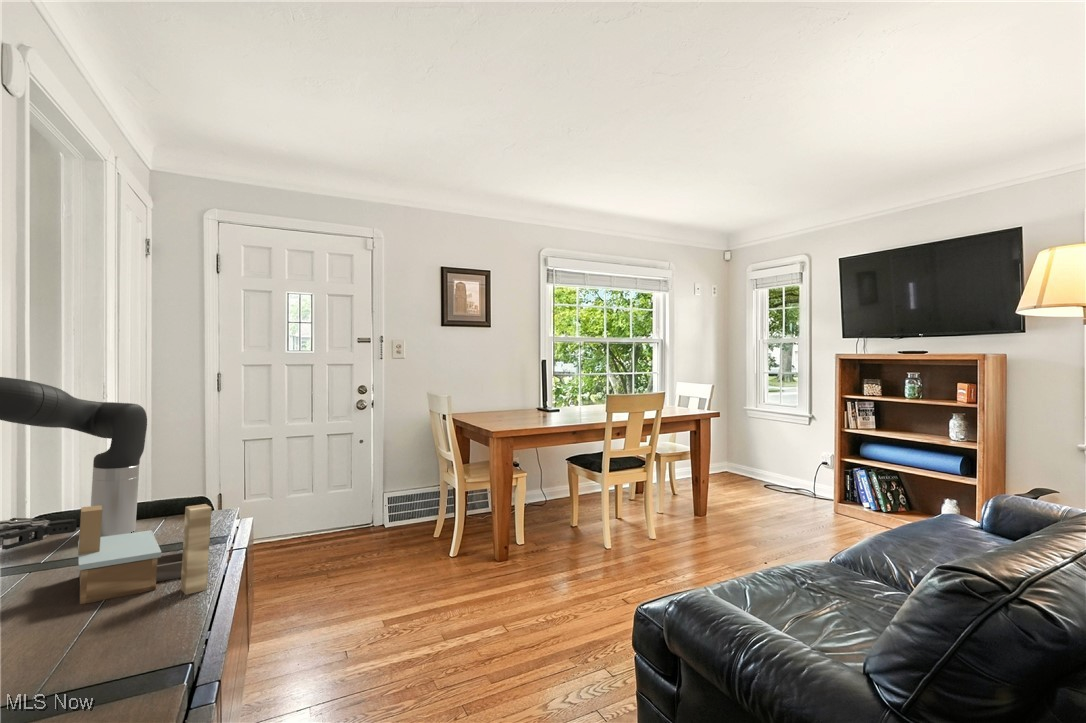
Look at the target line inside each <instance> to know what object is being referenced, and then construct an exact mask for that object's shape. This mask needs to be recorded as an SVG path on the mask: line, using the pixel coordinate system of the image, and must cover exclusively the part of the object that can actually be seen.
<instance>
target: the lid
mask: <svg viewBox="0 0 1086 723" xmlns="http://www.w3.org/2000/svg"><path fill="white" fill-rule="evenodd" d="M101 521H102V505H99V506H91V505H90V506H81V508H80V520H79V537H78V539H77V540H78V541H77V557H78V558H77V561H78V562H77V564H78V566H77V568H78V569H77V571H79V572H80V570H85V569H91V568H98V567H104V566H110V565H116V564H122V563H128V562H134V561H140V560H147V559H153V558H159V557H161V555H162V550H161V548H160V544H158V541H157V538H156V537H155V534H154V532H153V530H152V529H151V530H144V531H136V532H135V531H134V532H132V533H127V534H120V535H112V536H105V537H101Z"/></svg>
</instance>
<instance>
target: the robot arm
mask: <svg viewBox="0 0 1086 723" xmlns="http://www.w3.org/2000/svg"><path fill="white" fill-rule="evenodd" d="M147 415H148V414H147V412H146V410H145V408H144V407H143V406H141V405H140V404H137V403H128V402H109V401H107V402H105V401H94V400H87V399H81V398H77V397H74V396H73V395H71V394H70V393H69V392H67V391H65V390H63V389H61V388H59V387H56V386H53V385H49V384H44V383H40V382H36V381H33V380H28V379H22V378H20V379H19V378H12V377H6V376H0V421H3V422H8V423H12V424H13V423H15V424H20V425H25V426H26V425H27V426H31V427H32V426H33V427H42V428H62V429H70V430H74V431H78V432H81V433H84V434H87V435H92V436H94V437H97V438H102V439H111V440H110V441H111V442H110V445H109V448H108V449H107V450H106V451H104V452H100V453H98V454H96V455H94V457H93V464H92V477H91V478H92V482H91V493H90V494H91V495H90V496H91V497H90V506H99V505H102V521H101V537H105V536H112V535H120V534H127V533H131V532H132V533H134V532H135V531H136V526H137V512H138V511H137V509H138V498H139V496H138V495H139V494H138V493H139V478H140V477H139V475H140V462H141V458H142V455H143V453H144V452H145V451H144V450H145V444H146V436H147V429H148V427H147V426H148V416H147ZM77 524H78V523H77V518H70V519H69V518H68V519H60V520H52V521H51V520H47V519H46V518H33V517H32V518H29V517H28V518H27V517H24V518H23V517H12V518H9V519H7V520H4V519H3V520H0V548H1V549H2V550H4V551H5V550H6V551H7V550H11V549H13V548H18V547H21V546H24V545H29V544H33V543H35V542H40V541H43V540H44V538H45V539H46V538H47V537H49V536H54V535H61V534H69V533H74V532H76V531H77ZM133 531H134V532H133Z"/></svg>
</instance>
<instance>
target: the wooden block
mask: <svg viewBox="0 0 1086 723" xmlns="http://www.w3.org/2000/svg"><path fill="white" fill-rule="evenodd" d="M212 509H213V508H212V507H211V506H210V505H208V504H207V503H204V504H203V503H202V504H196V505H188V506H185V509H184V523H183V524H184V525H183V543H182V552H183V556H182V573H181V577H180V591H181V592H182V593H184V595H186V596H187V595H191V594H194V593H195V594H196V593H199V592H203V591H207V589H208V571H209V558H210V557H209V556H210V554H209V553H210V539H211V538H210V537H211V525H212V524H211V523H212V522H211V520H212Z"/></svg>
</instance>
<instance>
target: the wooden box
mask: <svg viewBox="0 0 1086 723" xmlns="http://www.w3.org/2000/svg"><path fill="white" fill-rule="evenodd" d="M182 556H183V551H180V552H173V553H172V552H171V553H168V554H166V553H165V554H161V557H159V558H153V559H147V560H140V561H134V562H128V563H122V564H116V565H110V566H104V567H98V568H91V569H85V570H79V574H78V576H79V577H78V579H79V581H78V582H79V587H78V588H79V605H85V604H88V603H89V604H90V603H95V602H99V601H104V600H105V601H106V600H110V599H115V598H120V597H124V596H130V595H136V594H140V593H146V592H152V591H156V590H157V589H156V588H157V582H163V581H166V580H173V579H178V578H181V573H182Z"/></svg>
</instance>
